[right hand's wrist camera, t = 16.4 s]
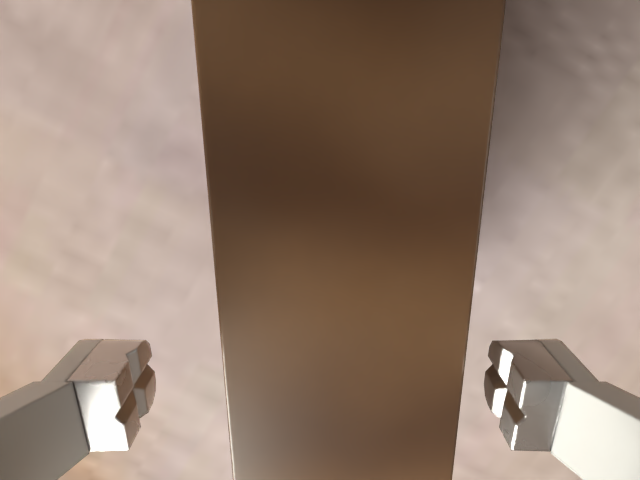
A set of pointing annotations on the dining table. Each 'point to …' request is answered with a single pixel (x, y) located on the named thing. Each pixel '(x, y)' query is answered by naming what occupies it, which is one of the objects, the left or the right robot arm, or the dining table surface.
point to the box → (345, 225)
